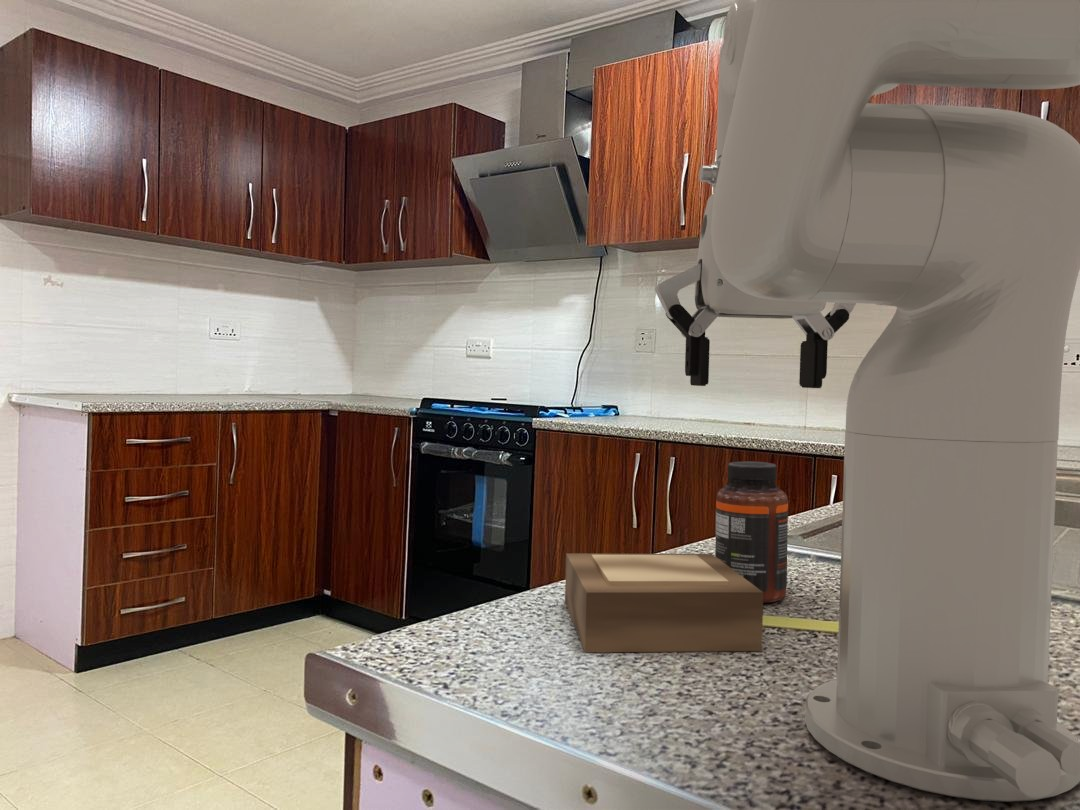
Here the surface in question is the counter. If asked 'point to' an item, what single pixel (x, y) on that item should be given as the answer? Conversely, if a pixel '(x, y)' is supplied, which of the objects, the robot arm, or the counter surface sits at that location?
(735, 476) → the supplement bottle
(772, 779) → the counter surface
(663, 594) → the base slab
